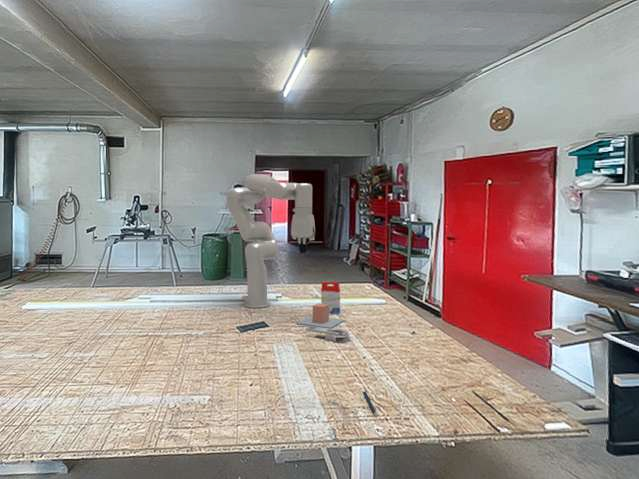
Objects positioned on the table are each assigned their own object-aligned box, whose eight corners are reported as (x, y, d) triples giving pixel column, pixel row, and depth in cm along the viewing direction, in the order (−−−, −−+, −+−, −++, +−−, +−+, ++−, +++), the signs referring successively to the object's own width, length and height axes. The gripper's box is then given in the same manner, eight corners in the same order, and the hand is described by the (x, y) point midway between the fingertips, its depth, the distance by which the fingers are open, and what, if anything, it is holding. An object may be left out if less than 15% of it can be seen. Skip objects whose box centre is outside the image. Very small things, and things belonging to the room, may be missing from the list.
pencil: (366, 394, 136) (378, 418, 122) (362, 394, 136) (374, 418, 121) (366, 391, 136) (378, 415, 122) (363, 391, 136) (374, 415, 121)
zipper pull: (312, 332, 196) (312, 321, 196) (353, 338, 187) (353, 327, 187) (302, 337, 189) (302, 326, 189) (344, 344, 181) (344, 332, 180)
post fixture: (296, 324, 207) (296, 308, 207) (311, 316, 220) (312, 302, 219) (330, 329, 200) (330, 313, 200) (344, 321, 213) (344, 306, 212)
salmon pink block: (312, 321, 209) (312, 305, 208) (318, 319, 213) (318, 303, 213) (323, 323, 207) (323, 307, 206) (328, 320, 211) (328, 304, 210)
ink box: (340, 311, 230) (340, 280, 228) (339, 314, 225) (339, 282, 224) (322, 311, 231) (322, 280, 229) (320, 313, 226) (321, 282, 224)
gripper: (284, 211, 216) (284, 252, 218) (314, 212, 209) (314, 255, 211) (293, 210, 223) (292, 250, 225) (322, 211, 216) (322, 253, 218)
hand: (303, 252), depth 218 cm, fingers closed
